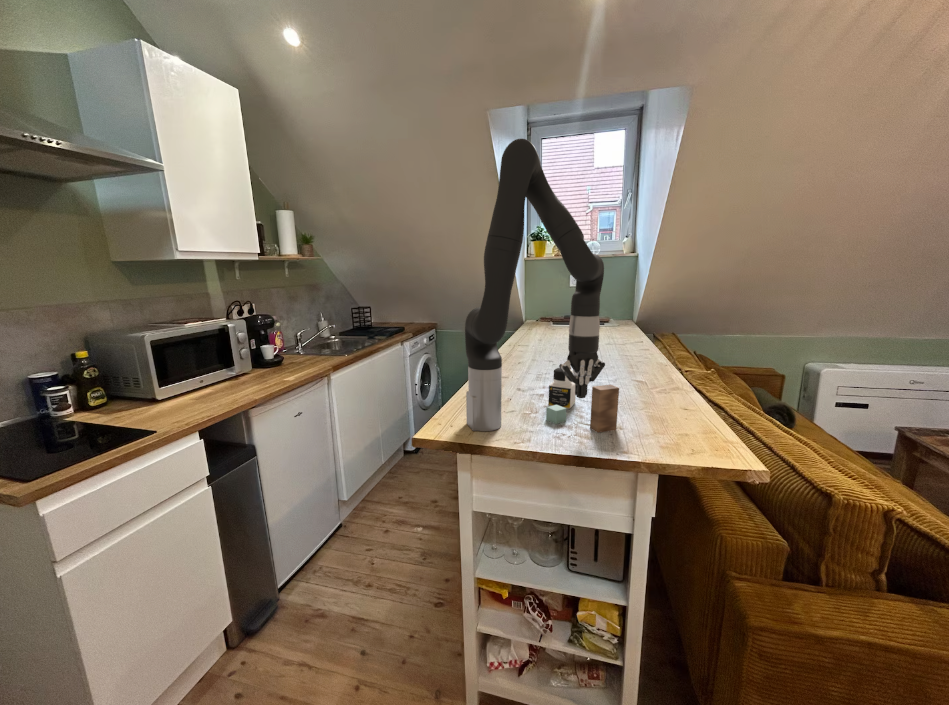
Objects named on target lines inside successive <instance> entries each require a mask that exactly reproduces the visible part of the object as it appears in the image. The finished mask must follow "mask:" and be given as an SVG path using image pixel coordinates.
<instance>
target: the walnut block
mask: <svg viewBox="0 0 949 705" xmlns="http://www.w3.org/2000/svg"><path fill="white" fill-rule="evenodd" d="M591 388H592V389H591V402H590V403H591V404H590V419H589V420H590V422H589V423H590V424H589V429H590V430H593V431H594V432H596V433H604V432H605V433H607V432H613V431H616V430H617V424H618V412H619V411H618V409H619V395H620V387H618V386H616V385H614V384H603V385H593V386H591Z"/></svg>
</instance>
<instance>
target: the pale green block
mask: <svg viewBox="0 0 949 705" xmlns="http://www.w3.org/2000/svg"><path fill="white" fill-rule="evenodd" d="M545 413H546V414H545V415H546V417H545V420H546V421H549V422H551V423H552V424H555V425H557V424H561V423H564V422H566V421H567V409H566V408H564V407H562V406H559V405H553V406H549V405H548V406H546V412H545Z"/></svg>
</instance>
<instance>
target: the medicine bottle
mask: <svg viewBox="0 0 949 705" xmlns="http://www.w3.org/2000/svg"><path fill="white" fill-rule="evenodd" d="M571 372H572V373H573V369H571ZM576 398H577V396H576V395H575V383H573V382H571V381H569V380H568V378H567V377H566V376H565V374H564V373H563V371H562V370H561V369H560V367H557V368H555V369H553V382H551V383H549V386H548V407H549V406H553V405H559V406H562V407H564V408H566V410H570V409H571V408H572V407H573V406H574V404H575V403H576Z"/></svg>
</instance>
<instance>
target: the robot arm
mask: <svg viewBox="0 0 949 705" xmlns="http://www.w3.org/2000/svg"><path fill="white" fill-rule="evenodd" d="M500 161H501V162H500V169H499V180H498V189H497V194H496V199H495V204H494V208H493V212H492V215H491V219H490V224H489V229H488V233H487V238H486V242H485V247H484V253H483V270H484V272H483V273H484V291H483V297H482V301H481V304H480V306H479V307H474V308H473V309H472V310H470V312H468V314H467V316H466V319H465V321H464V322H465V323H464V337H465V338H464V339H465V342H464V343H465V354H466V355H465V356H466V357H467V362H468V364H467V366H468V367H467V370H468V372H467V374H468V380H467V381H468V382H467V384H468V391H466V392H465V393H466V396H465V398H466V400H465V401H466V405H465V406H466V407H465V408H466V411H465V412H466V415H465V416H466V425H467V426H468V427H469V428H470V429H471V431H473V432H475V431H479V432H480V431H481V432H491V431H496V430H498V429H500V428H501V426H502V384H503V383H502V382H503V381H502V378H503V377H502V372H503V369H502V368H503V359H502V355H501V354H500V351H499V349H498V346H497V344H498V343H499V342H500V341H501V340H502V339H503V337H504V336H505V333H506V330H507V328H508V320H509V319H508V318H509V311H510V302H511V296H512V290H513V285H514V281H515V278H516V271H517V267H518V263H519V261H520V255H521V251H522V247H523V240H524V233H525V205H526V199H527V200H528V201H529V203H530V205H531V206H532V207H533V208H534V210H535V211H536V212H535V213H537V216H538V217H539V219H540V221H541V223H542V224H543V227H544V228H545V231H546V232H547V233H548V235H549V238H550V239H551V240H552V242H553V243H554V245H555V247H556V248H557V249H558V251H559V253H560V255H561V257H562V261H563V262H564V265H565V267H566V269H567V270H568V273H569V274H570V275H571V276H572V277H573V278H574V280H575V281H576V282H575V291H574V293H573V294H572V296H571V302H570V319H569V324H568V325H569V326H568V347H567V348H568V355H567V358H566V361H564V363H560V364H559V366H558V368H560V369H561V370H562V371H563V373H564V374H565V376H566V377H567V378H568V380H569V381H571V382H573V383H575V395H576V398H578V399H586V397H587V395H588V385H589V384H590V383H592V382H595V381H596V380H597V378H598V376H599V375H600V373H601V372H602V370H603V369H604V367H605V366H606V362H603V361H601V360H600V359H599V354H598V351H599V346H600V344H599V343H600V327H601V326H600V323H601V322H600V309H601V293H602V287H603V283H604V282H603V281H604V276H605V263H604V261H603V258H602V257H601V256H600V255H598V254H596V253H593V252H592V250H591V249H590V247H589V246H588V245H587V244H588V243H587V242H586V241H585V236H584V233H583V231H582V229H581V228H580V226H579V225H578V223H577V221H576V220H575V218H574V217H573V216H572V214H571V212H570V211H569V209H567V207H566V206H565V205H564V203H563V202H562V201H561V200H560V199H559V197H558V196H557V195H556V193H555V192H554V190H553V189H552V187H551V186H550V184H549V181H548V179H547V177H546V175H545V173H544V169H543V166H542V163H541V159H540V156H539V153H538V151H537V149H536V147H535V145H534V144H533V143H532V142H531V141H530V140H528V139H526V138H517V139H514V140H512V141H511V142H510V143H509V144H508V145H507V146H506V147H505V149H504V151H503V153H502V156H501V160H500ZM571 370H572V371H573V373H572V372H571Z"/></svg>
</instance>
